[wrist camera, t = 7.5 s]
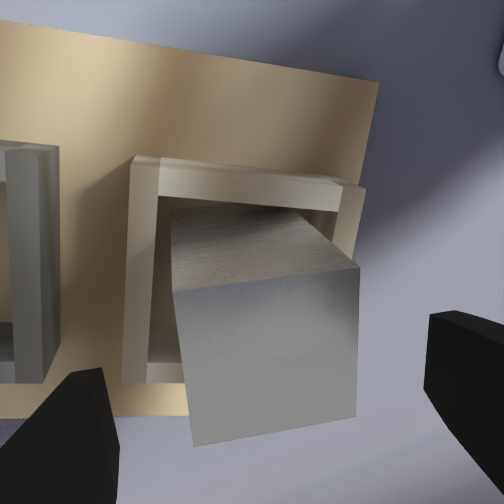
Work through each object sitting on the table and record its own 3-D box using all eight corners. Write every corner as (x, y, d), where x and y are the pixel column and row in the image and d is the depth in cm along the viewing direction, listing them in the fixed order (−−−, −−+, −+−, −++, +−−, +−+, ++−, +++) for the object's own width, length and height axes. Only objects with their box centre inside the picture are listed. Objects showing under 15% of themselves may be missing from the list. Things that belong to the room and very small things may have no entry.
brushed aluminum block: (280, 198, 16) (360, 266, 9) (284, 296, 17) (355, 416, 11) (170, 210, 15) (172, 291, 9) (183, 311, 16) (193, 447, 10)
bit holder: (367, 83, 16) (418, 78, 13) (304, 399, 20) (330, 456, 17) (-137, 1, 12) (-243, -35, 9) (-83, 403, 17) (-144, 475, 13)
